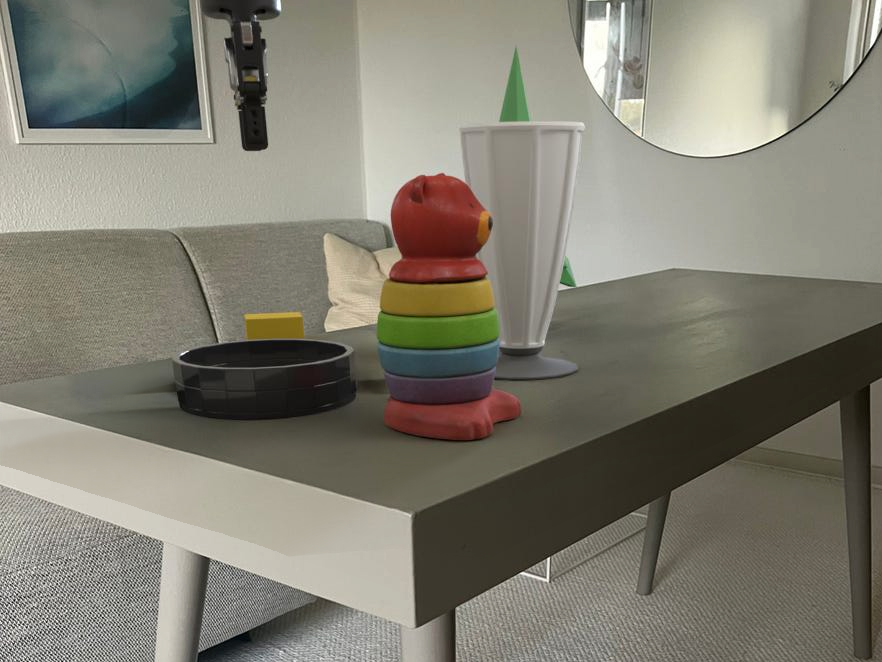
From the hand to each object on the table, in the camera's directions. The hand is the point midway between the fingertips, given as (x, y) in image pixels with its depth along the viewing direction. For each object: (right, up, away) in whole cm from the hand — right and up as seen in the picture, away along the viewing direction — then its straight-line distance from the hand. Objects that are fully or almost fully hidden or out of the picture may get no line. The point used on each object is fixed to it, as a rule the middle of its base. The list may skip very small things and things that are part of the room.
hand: (255, 150), depth 99 cm
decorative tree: (+27, -12, +20) cm, 36 cm away
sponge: (0, -18, +9) cm, 20 cm away
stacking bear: (+20, -32, -21) cm, 44 cm away
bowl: (+4, -28, -13) cm, 31 cm away
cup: (+27, -23, -1) cm, 35 cm away
